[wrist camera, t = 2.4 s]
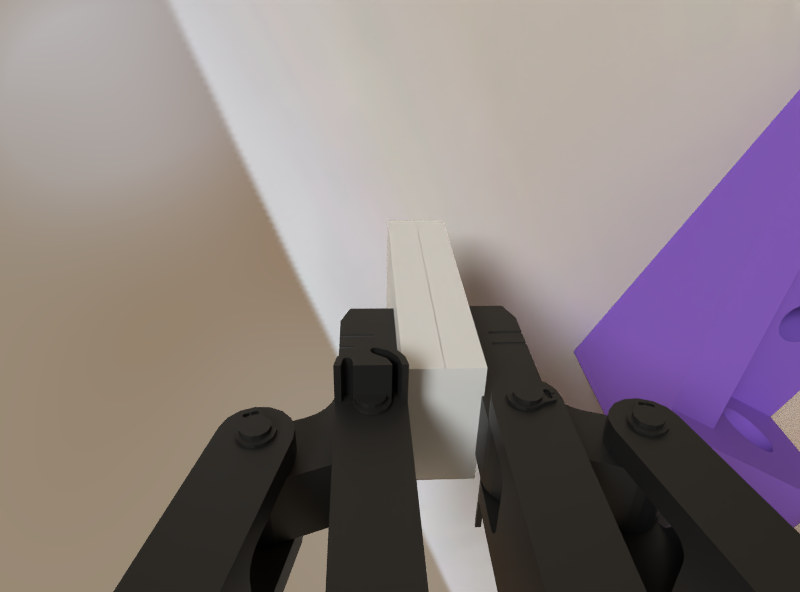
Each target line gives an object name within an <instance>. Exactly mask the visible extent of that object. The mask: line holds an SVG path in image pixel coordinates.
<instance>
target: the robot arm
mask: <svg viewBox="0 0 800 592" xmlns="http://www.w3.org/2000/svg"><path fill="white" fill-rule="evenodd" d="M386 308H387V309H350V310H349V311H348V312H347V314H346V315H345V316H344V318H343V319H342V320H341V326H340V349H339V356H338V357H337V358H336V361H335V363H334V366H333V367H334V394H335V395H334V396H335V398H334V400H333V402H332V403H331V404H330V405H329V406H328V407H327V408H326V409H324V410H322V411H321V412H319V413H317V414H315V415H312V416H309V417H307V418H303V419H299V420H295V421H292V420H291V418H290V417H289V416H288V415H286V414H285V413H284V412H283V411H280V410H277V409H273V408H270V407H254V408H250V409H246V410H242V411H239V412H238V413H236V414H234V415H232V416H230V417H228V418H227V419H226V420H225V421H224V422H223V423H222V424H221V425H220V426H219V428H218V429H217V431H216V432H215V434H214V436H213V437H212V439H211V440H210V442H209V443H208V445H207V447H206V448H205V449H204V451H203V453H202V454H201V456H200V458H199V459H198V461H197V462H196V464H195V465H194V467H193V468H192V470H191V471H190V473H189V475H188V476H187V478H186V479H185V481H184V482H183V484H182V485H181V487H180V489H179V490H178V492H177V493H176V495H175V496H174V498H173V499H172V501H171V503H170V504H169V506H168V507H167V509H166V511H165V512H164V514H163V515H162V517H161V518H160V520H159V521H158V523H157V524H156V526H155V528H154V529H153V531H152V532H151V534H150V535H149V537H148V539H147V540H146V542H145V543H144V545H143V546H142V548H141V549H140V551H139V553H138V554H137V556H136V557H135V559H134V560H133V562H132V564H131V565H130V567H129V568H128V570H127V571H126V573H125V575H124V576H123V578H122V579H121V581H120V582H119V584H118V585H117V587H116V589H115V590H114V592H283V591H284V588H285V585H286V583H287V580H288V578H289V575H290V572H291V570H292V567H293V564H294V562H295V559H296V557H297V554H298V551H299V548H300V546H301V543H302V538H303V536H304V535H307V534H310V533H313V532H316V531H319V530H322V529H325V528H328V527H329V533H328V553H327V554H328V555H327V575H326V592H428V582H427V573H426V564H425V555H424V546H423V537H422V527H421V518H420V509H419V500H418V491H417V482H416V480H432V479H470V478H474V477H475V468H476V460H477V464H478V469H479V473H480V486H479V494H478V502H477V510H476V518H475V527H481V522H482V519H483V523H484V528H485V533H486V538H487V543H488V547H489V552H490V557H491V562H492V566H493V571H494V576H495V581H496V586H497V590H498V592H800V534H799V533H798V532H797V531H796V530H795V529H794V528H793V527H792V526H791V525H790V524H789V523H788V522H787V521H786V520H785V519H784V518H783V517H782V516H781V515H780V514H779V513H778V512H777V511H776V510H775V509H774V508H773V507H772V506H771V505H770V504H769V503H768V502H767V501H765V500H764V499H763V498H762V497H761V496H760V495H759V494H758V493H757V492H756V491H755V490H754V489H753V488H752V487H751V486H750V485H749V484H748V483H747V482H746V481H745V480H744V479H743V478H742V477H741V476H740V475H739V474H738V473H737V472H736V471H735V470H734V469H733V468H732V467H731V466H730V465H729V464H728V463H727V462H725V461H724V460H723V459H722V458H721V457H720V456H719V455H718V454H717V453H716V452H715V451H714V450H713V449H712V448H711V447H710V446H709V445H708V444H707V443H706V442H705V441H704V440H703V439H702V438H701V437H700V436H699V435H698V434H697V433H696V432H695V431H694V430H693V429H692V428H691V427H690V426H689V425H688V424H687V423H685V422H684V421H683V420H682V419H681V418H680V417H679V416H678V415H677V414H676V413H674V412H673V411H671V410H670V409H669V408H667V407H665V406H663V405H661V404H658V403H656V402H654V401H650V400H644V399H639V398H633V399H623V400H621V401H618V402H616V403H614V404H613V405H612V407H611V408H610V409H609V411H608V415H602V414H597V413H592V412H587V411H583V410H579V409H576V408H572V407H570V406H568V405H565V404H564V401H563V399H562V397H561V396H560V395H559V393H558V392H557V391H556V389H554V388H553V387H551V386H550V385H548V384H547V383H545V382H542V381H541V378H540V376H539V374H538V371H537V369H536V366H535V364H534V361H533V359H532V357H531V354H530V352H529V349H528V347H527V345H526V344H525V343H526V342H525V340H524V337H523V335H522V334H521V330H520V327H519V325H518V323H517V320H516V318H515V317H514V316H513V315H512V314H511V313H509V312H508V311H507V310H506V309H505V308H504V307H502V306H469V304H468V301H467V298H466V294H465V291H464V288H463V284H462V281H461V278H460V274H459V271H458V268H457V264H456V261H455V257H454V254H453V251H452V247H451V244H450V241H449V237H448V234H447V231H446V227H445V224H444V221H388V240H387V304H386Z"/></svg>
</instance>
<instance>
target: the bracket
mask: <svg viewBox="0 0 800 592" xmlns="http://www.w3.org/2000/svg"><path fill="white" fill-rule="evenodd" d="M574 353H575V355H576V357H577V360H578V362H579V364H580V366H581V368H582V370H583V372H584V374H585V376H586V378H587V380H588V382H589V384H590V386H591V388H592V390H593V392H594V394H595V396H596V398H597V400H598V402H599V404H600V406H601V408H602V410H603V412H604V414H605V415H608V411H609V409H610V408H611V407H612V405H613V404H614V403H616V402H618V401H621V400H623V399H633V398H639V399H644V400H650V401H654V402H656V403H658V404H661V405H663V406H665V407H667V408H669V409H670V410H671V411H673V412H674V413H676V414H677V415H678V416H679V417H680V418H681V419H682V420H683V421H684V422H685V423H687V424H688V425H689V426H690V427H691V428H692V429H693V430H694V431H695V432H696V433H697V434H698V435H699V436H700V437H701V438H702V439H703V440H704V441H705V442H706V443H707V444H708V445H709V446H710V447H711V448H712V449H713V450H714V451H715V452H716V453H717V454H718V455H719V456H720V457H721V458H722V459H723V460H724V461H725V462H727V463H728V464H729V465H730V466H731V467H732V468H733V469H734V470H735V471H736V472H737V473H738V474H739V475H740V476H741V477H742V478H743V479H744V480H745V481H746V482H747V483H748V484H749V485H750V486H751V487H752V488H753V489H754V490H755V491H756V492H757V493H758V494H759V495H760V496H761V497H762V498H763V499H764V500H765V501H767V502H768V503H769V504H770V505H771V506H772V507H773V508H774V509H775V510H776V511H777V512H778V513H779V514H780V515H781V516H782V517H783V518H784V519H785V520H786V521H787V522H788V523H789V524H790V525H791V526H792V527H793V528H794V527H795V526H796V525H798V524H799V523H800V452H799V451H798V449H797V448H796V447H795V446H794V445H793V443H792V442H791V441H790V440H789V439H788V437H787V436H786V435H785V434H784V433H783V431H782V430H781V429H780V428H779V427H778V426H777V424H776V423H775V422H774V421H773V420H772V418H771V417H770V416H772V415H773V414H774V413H775V412H776V411H777V410H778V409H779V408H780V407H782V406H783V405H784V404H785V403H786V402H787V401H788V400H789V399H791V398H792V397H793V396H794V395H795V394H796V393H797V392H798V391H799V390H800V90H799V91H798V92H797V93H796V95H795V96H794V97H793V98H792V99H791V100H790V102H789V103H788V104H787V105H786V106H785V107H784V108H783V110H782V111H781V112H780V113H779V114H778V115H777V117H776V118H775V119H774V120H773V121H772V122H771V124H770V125H769V126H768V127H767V128H766V129H765V131H764V132H763V133H762V134H761V135H760V136H759V137H758V139H757V140H756V141H755V142H754V143H753V144H752V146H751V147H750V148H749V149H748V150H747V151H746V153H745V154H744V155H743V156H742V157H741V158H740V159H739V161H738V162H737V163H736V164H735V165H734V166H733V168H732V169H731V170H730V171H729V172H728V173H727V175H726V176H725V177H724V178H723V179H722V180H721V182H720V183H719V184H718V185H717V186H716V187H715V188H714V190H713V191H712V192H711V193H710V194H709V195H708V197H707V198H706V199H705V200H704V201H703V202H702V204H701V205H700V206H699V207H698V208H697V209H696V210H695V212H694V213H693V214H692V215H691V216H690V217H689V219H688V220H687V221H686V222H685V223H684V224H683V226H682V227H681V228H680V229H679V230H678V231H677V233H676V234H675V235H674V236H673V237H672V238H671V239H670V241H669V242H668V243H667V244H666V245H665V246H664V248H663V249H662V250H661V251H660V252H659V253H658V255H657V256H656V257H655V258H654V259H653V260H652V261H651V263H650V264H649V265H648V266H647V267H646V268H645V270H644V271H643V272H642V273H641V274H640V275H639V277H638V278H637V279H636V280H635V281H634V282H633V284H632V285H631V286H630V287H629V288H628V289H627V290H626V292H625V293H624V294H623V295H622V296H621V297H620V299H619V300H618V301H617V302H616V303H615V304H614V306H613V307H612V308H611V309H610V310H609V311H608V312H607V314H606V315H605V316H604V317H603V318H602V319H601V321H600V322H599V323H598V324H597V325H596V326H595V328H594V329H593V330H592V331H591V332H590V333H589V335H588V336H587V337H586V338H585V339H584V340H583V341H582V343H581V344H580V345H579V346H578V347H577V348H576V350H575V351H574Z"/></svg>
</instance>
